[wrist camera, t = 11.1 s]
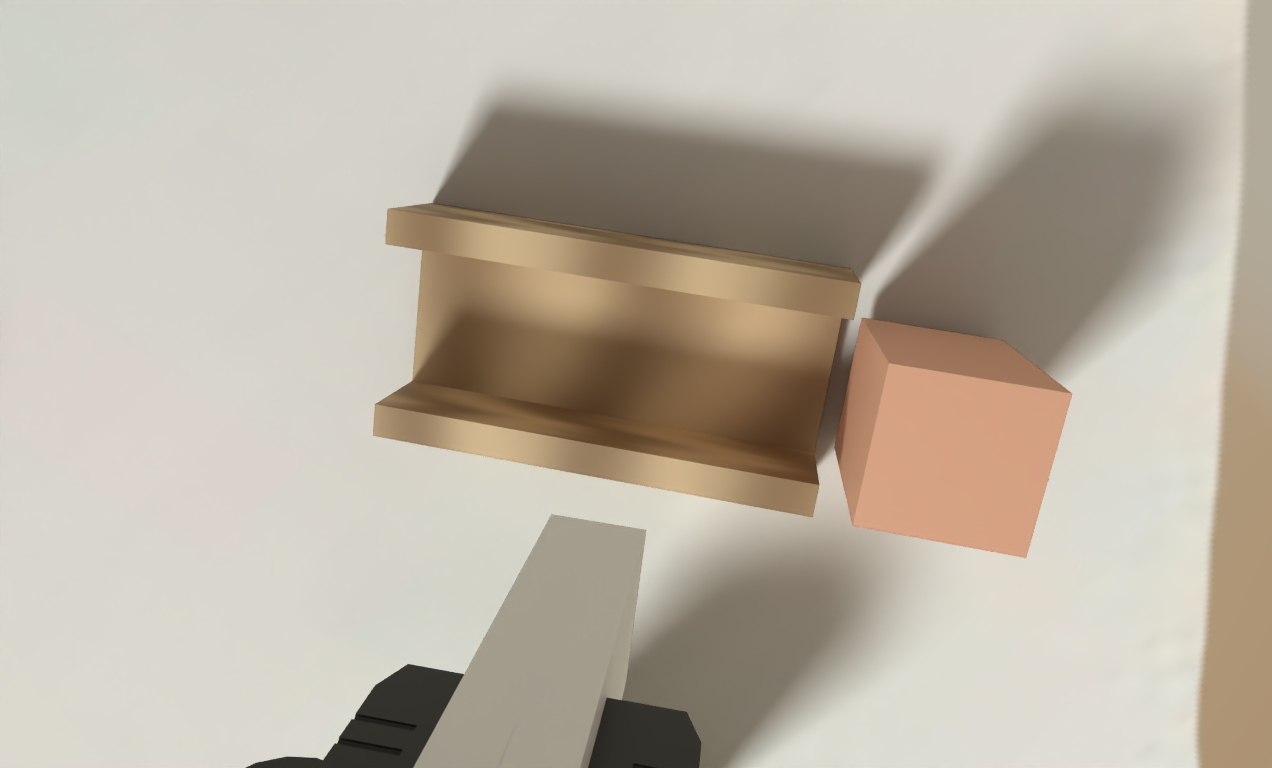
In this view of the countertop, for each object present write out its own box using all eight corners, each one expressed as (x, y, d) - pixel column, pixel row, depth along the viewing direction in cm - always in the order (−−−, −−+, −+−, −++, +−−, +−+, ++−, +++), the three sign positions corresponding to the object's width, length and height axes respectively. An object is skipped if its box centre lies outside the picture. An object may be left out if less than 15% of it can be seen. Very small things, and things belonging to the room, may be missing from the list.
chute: (415, 405, 36) (373, 435, 32) (431, 203, 34) (387, 208, 30) (807, 476, 35) (812, 517, 31) (850, 268, 32) (861, 283, 28)
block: (834, 446, 33) (852, 525, 26) (861, 317, 32) (888, 363, 25) (969, 470, 33) (1026, 557, 26) (1002, 340, 32) (1072, 393, 24)
